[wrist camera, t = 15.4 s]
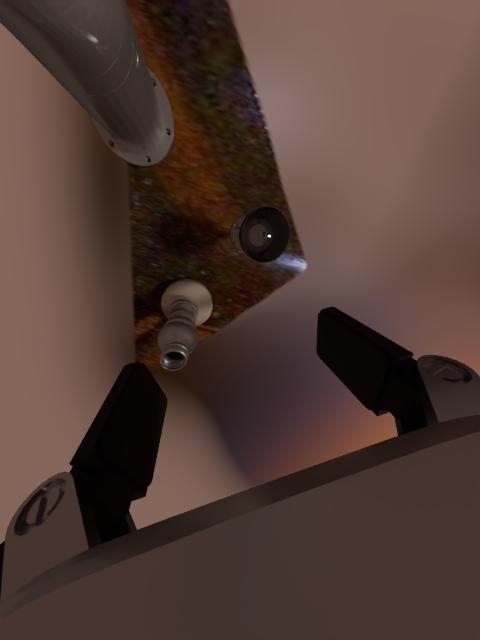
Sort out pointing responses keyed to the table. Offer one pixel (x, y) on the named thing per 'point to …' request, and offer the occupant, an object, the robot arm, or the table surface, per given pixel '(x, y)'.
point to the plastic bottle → (178, 333)
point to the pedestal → (190, 290)
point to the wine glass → (262, 234)
